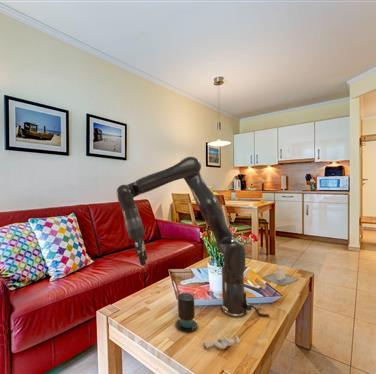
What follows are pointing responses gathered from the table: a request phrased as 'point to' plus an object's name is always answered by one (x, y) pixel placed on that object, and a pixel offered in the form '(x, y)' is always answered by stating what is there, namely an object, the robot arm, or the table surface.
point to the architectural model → (280, 277)
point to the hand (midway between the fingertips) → (144, 262)
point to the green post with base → (186, 325)
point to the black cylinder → (186, 306)
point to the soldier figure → (224, 342)
